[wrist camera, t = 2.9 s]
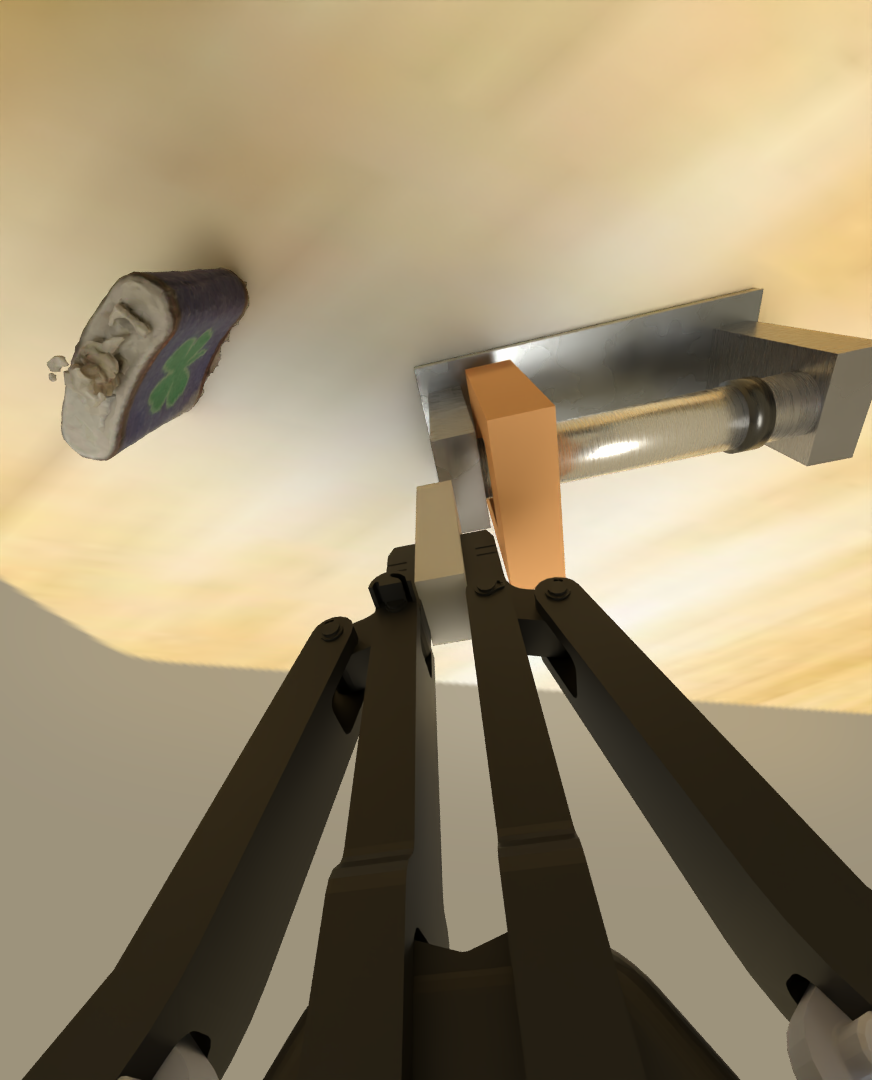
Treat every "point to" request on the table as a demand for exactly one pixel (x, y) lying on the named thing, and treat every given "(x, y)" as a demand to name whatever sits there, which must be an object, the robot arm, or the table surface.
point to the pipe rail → (662, 394)
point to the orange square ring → (520, 470)
